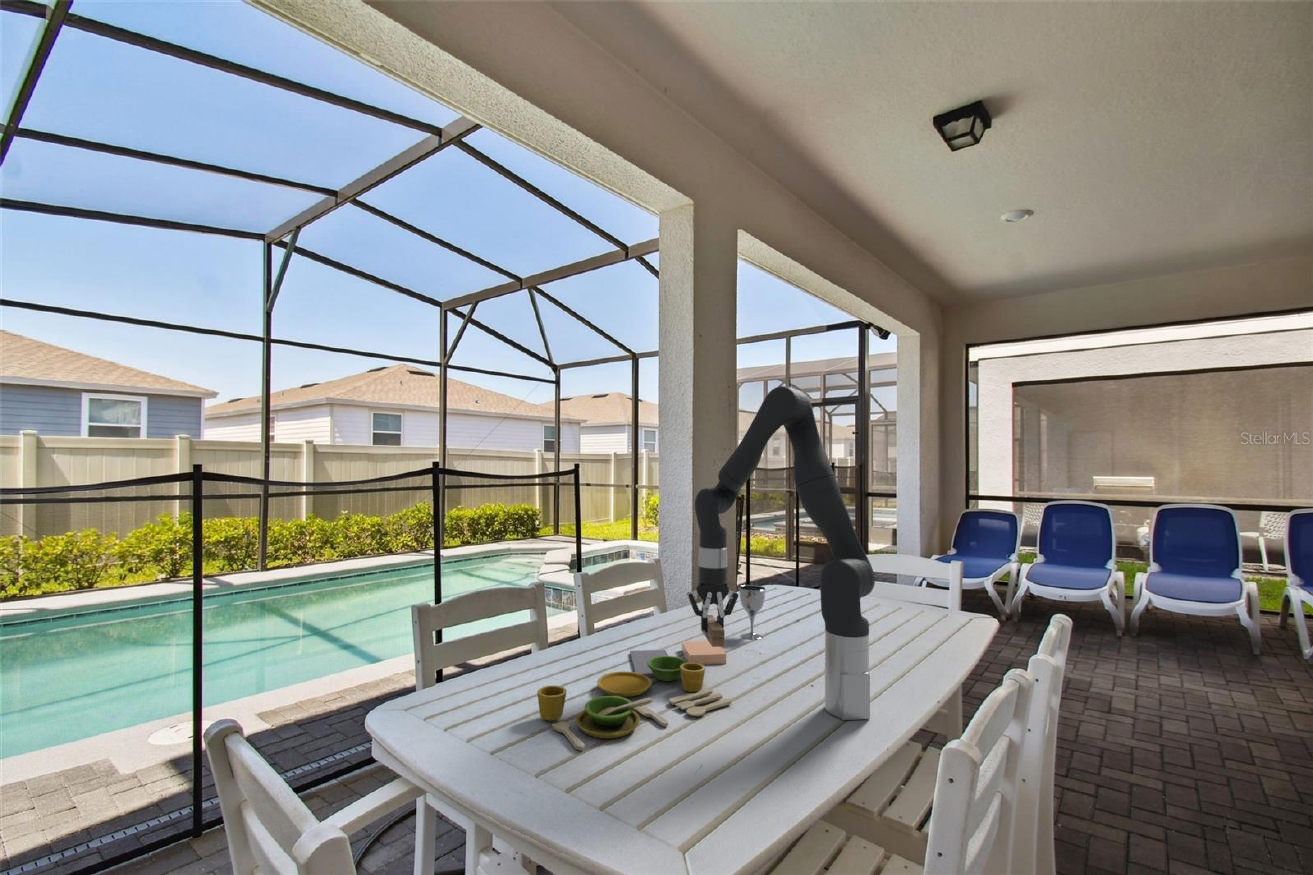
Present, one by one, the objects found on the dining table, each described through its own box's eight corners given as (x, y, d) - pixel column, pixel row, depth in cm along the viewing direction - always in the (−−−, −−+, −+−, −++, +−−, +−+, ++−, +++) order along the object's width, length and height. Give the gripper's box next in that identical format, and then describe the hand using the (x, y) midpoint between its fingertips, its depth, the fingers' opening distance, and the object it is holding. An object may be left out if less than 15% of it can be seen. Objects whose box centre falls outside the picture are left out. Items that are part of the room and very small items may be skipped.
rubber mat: (675, 676, 148) (675, 672, 148) (636, 677, 147) (636, 674, 147) (665, 652, 166) (665, 649, 166) (630, 653, 165) (630, 650, 165)
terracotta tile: (726, 654, 158) (715, 640, 170) (689, 655, 156) (681, 641, 168) (726, 665, 158) (715, 651, 169) (689, 666, 156) (681, 652, 168)
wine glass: (766, 640, 178) (767, 590, 179) (740, 640, 178) (741, 590, 179) (762, 632, 186) (763, 585, 187) (737, 632, 186) (737, 584, 187)
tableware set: (572, 756, 107) (573, 721, 107) (517, 700, 130) (517, 672, 130) (741, 704, 131) (741, 675, 131) (668, 664, 154) (669, 640, 154)
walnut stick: (724, 646, 146) (724, 630, 146) (712, 646, 145) (712, 630, 146) (711, 629, 160) (711, 614, 160) (700, 629, 159) (701, 615, 159)
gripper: (689, 567, 149) (688, 636, 148) (743, 566, 150) (742, 635, 150) (683, 562, 156) (683, 628, 155) (735, 561, 158) (735, 626, 157)
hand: (712, 631), depth 153 cm, fingers closed on walnut stick, 3 cm apart
